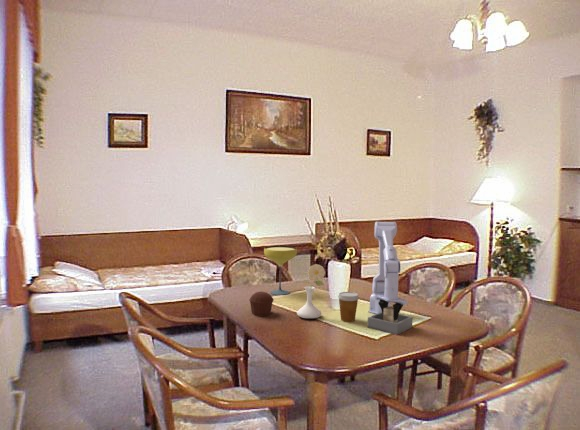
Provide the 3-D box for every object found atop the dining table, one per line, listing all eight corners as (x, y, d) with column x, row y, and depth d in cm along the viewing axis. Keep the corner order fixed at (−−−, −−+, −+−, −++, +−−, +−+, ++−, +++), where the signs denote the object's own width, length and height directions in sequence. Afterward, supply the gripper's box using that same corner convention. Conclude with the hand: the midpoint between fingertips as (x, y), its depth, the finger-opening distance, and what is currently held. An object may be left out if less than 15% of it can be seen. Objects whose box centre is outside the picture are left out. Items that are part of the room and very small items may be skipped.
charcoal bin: (367, 327, 208) (367, 317, 207) (383, 320, 218) (384, 310, 218) (397, 334, 199) (397, 324, 198) (412, 327, 210) (412, 316, 209)
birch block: (383, 321, 208) (383, 308, 208) (388, 319, 212) (388, 306, 211) (392, 324, 205) (393, 310, 205) (397, 321, 209) (398, 308, 208)
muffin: (244, 313, 227) (244, 292, 226) (261, 308, 235) (261, 288, 234) (261, 318, 219) (261, 296, 218) (278, 313, 227) (278, 292, 226)
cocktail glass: (276, 287, 280) (277, 244, 278) (302, 292, 269) (303, 248, 267) (256, 293, 265) (257, 248, 263) (283, 298, 255) (283, 251, 253)
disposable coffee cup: (360, 318, 221) (360, 292, 220) (356, 324, 212) (356, 297, 211) (339, 316, 225) (340, 290, 224) (335, 321, 216) (335, 295, 215)
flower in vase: (293, 318, 219) (294, 264, 217) (301, 312, 230) (302, 260, 228) (320, 322, 214) (322, 267, 212) (327, 315, 225) (329, 262, 223)
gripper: (371, 286, 209) (371, 317, 210) (402, 292, 200) (401, 324, 201) (380, 283, 214) (379, 313, 215) (410, 289, 205) (409, 320, 206)
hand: (390, 318), depth 208 cm, fingers closed on birch block, 4 cm apart
